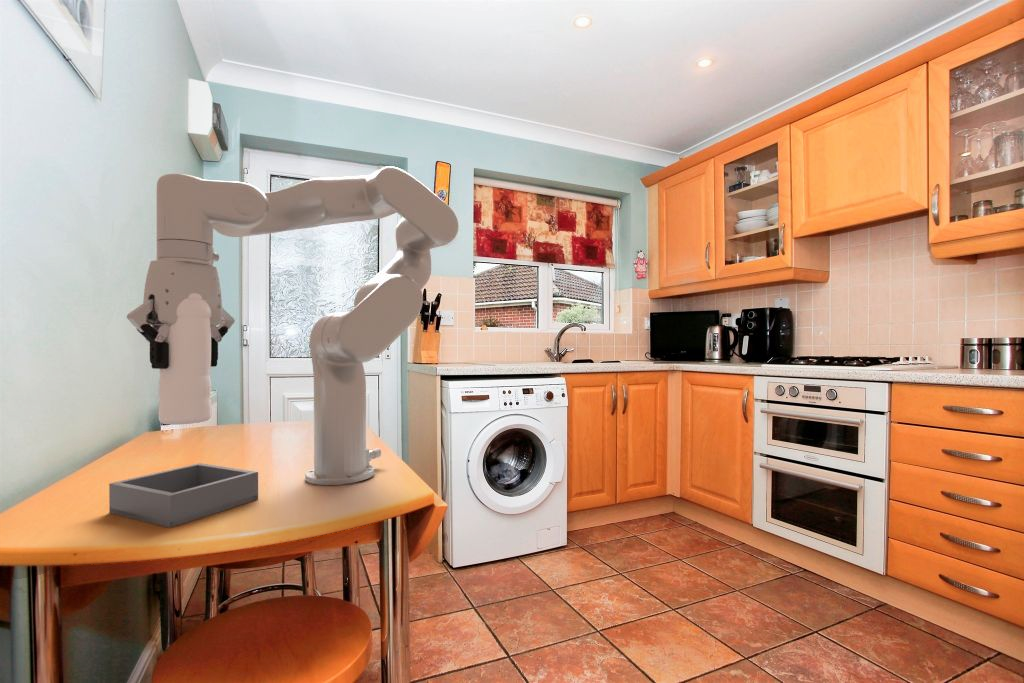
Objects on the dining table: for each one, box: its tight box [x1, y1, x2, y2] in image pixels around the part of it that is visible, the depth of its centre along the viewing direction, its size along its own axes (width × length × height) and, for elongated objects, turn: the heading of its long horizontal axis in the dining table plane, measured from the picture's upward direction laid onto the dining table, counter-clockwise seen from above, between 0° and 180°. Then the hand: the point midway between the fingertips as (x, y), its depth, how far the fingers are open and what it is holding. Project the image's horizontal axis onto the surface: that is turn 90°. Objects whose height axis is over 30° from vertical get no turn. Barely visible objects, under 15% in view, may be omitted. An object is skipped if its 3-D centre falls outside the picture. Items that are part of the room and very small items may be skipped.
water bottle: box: [158, 273, 212, 426], centre depth 79 cm, size 7×7×25 cm
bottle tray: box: [108, 462, 259, 529], centre depth 79 cm, size 14×15×4 cm
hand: (185, 366), depth 79 cm, fingers closed on water bottle, 7 cm apart
